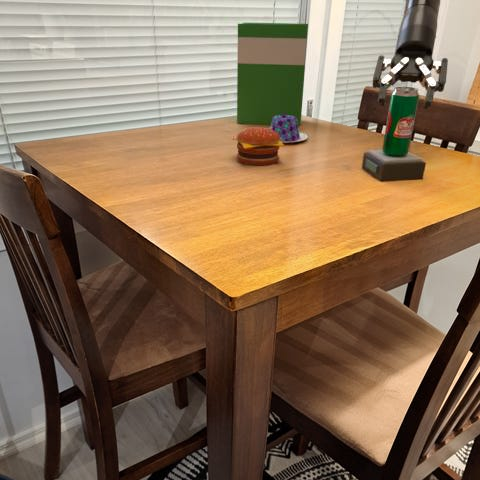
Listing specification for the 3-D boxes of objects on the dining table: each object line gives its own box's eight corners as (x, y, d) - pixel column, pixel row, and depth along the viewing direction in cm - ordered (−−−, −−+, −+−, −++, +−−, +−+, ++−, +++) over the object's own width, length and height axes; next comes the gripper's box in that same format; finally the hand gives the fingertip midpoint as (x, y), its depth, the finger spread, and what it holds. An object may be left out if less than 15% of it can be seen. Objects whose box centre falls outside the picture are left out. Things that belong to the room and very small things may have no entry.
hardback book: (300, 120, 143) (308, 23, 130) (300, 125, 137) (307, 24, 124) (240, 117, 145) (241, 22, 132) (237, 123, 139) (237, 23, 126)
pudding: (270, 131, 131) (271, 110, 128) (314, 136, 126) (316, 114, 123) (252, 141, 121) (252, 118, 119) (298, 147, 117) (300, 124, 114)
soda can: (392, 158, 96) (404, 91, 89) (376, 152, 100) (386, 87, 93) (413, 156, 98) (426, 89, 91) (396, 150, 101) (408, 85, 95)
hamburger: (245, 167, 103) (245, 134, 99) (230, 156, 110) (230, 124, 107) (286, 163, 105) (288, 131, 102) (269, 152, 113) (271, 122, 109)
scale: (401, 166, 105) (404, 147, 103) (422, 179, 98) (426, 159, 96) (360, 168, 103) (362, 149, 101) (379, 181, 96) (382, 161, 94)
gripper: (383, 21, 102) (369, 90, 99) (456, 23, 98) (444, 95, 95) (380, 48, 109) (367, 114, 106) (449, 51, 105) (437, 119, 102)
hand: (404, 105), depth 101 cm, fingers open, 8 cm apart
